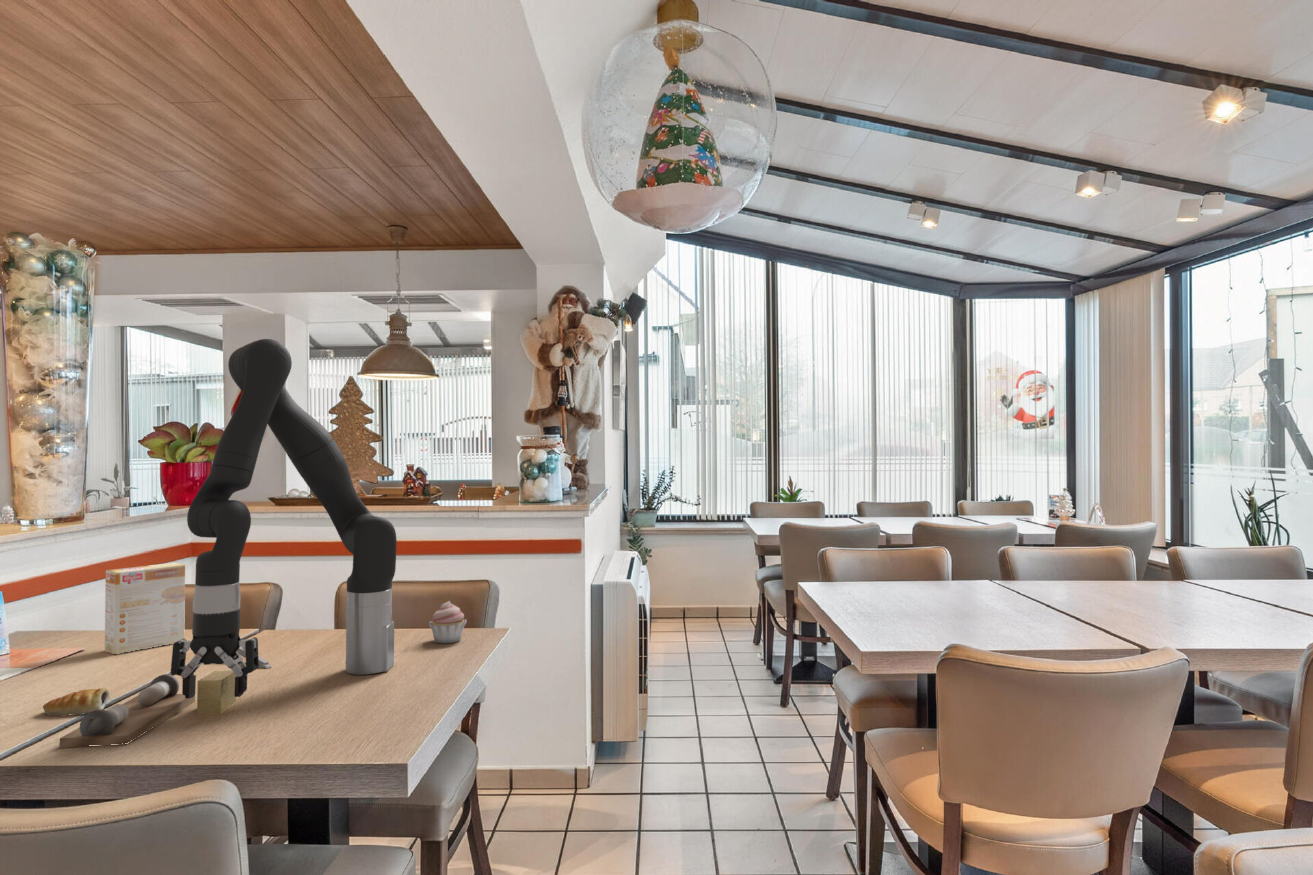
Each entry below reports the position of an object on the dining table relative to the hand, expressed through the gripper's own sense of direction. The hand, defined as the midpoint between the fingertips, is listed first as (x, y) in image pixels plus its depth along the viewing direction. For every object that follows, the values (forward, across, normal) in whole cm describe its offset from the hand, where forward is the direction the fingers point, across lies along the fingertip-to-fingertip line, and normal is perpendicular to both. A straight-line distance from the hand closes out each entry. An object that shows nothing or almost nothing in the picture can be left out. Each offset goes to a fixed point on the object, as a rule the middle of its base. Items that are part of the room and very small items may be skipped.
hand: (214, 696), depth 133 cm
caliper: (+3, +9, -32) cm, 33 cm away
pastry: (+3, +24, -2) cm, 24 cm away
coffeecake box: (+2, +39, -48) cm, 62 cm away
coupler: (+2, 0, 0) cm, 2 cm away
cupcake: (+2, -34, -45) cm, 57 cm away
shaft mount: (+2, +10, +6) cm, 12 cm away
